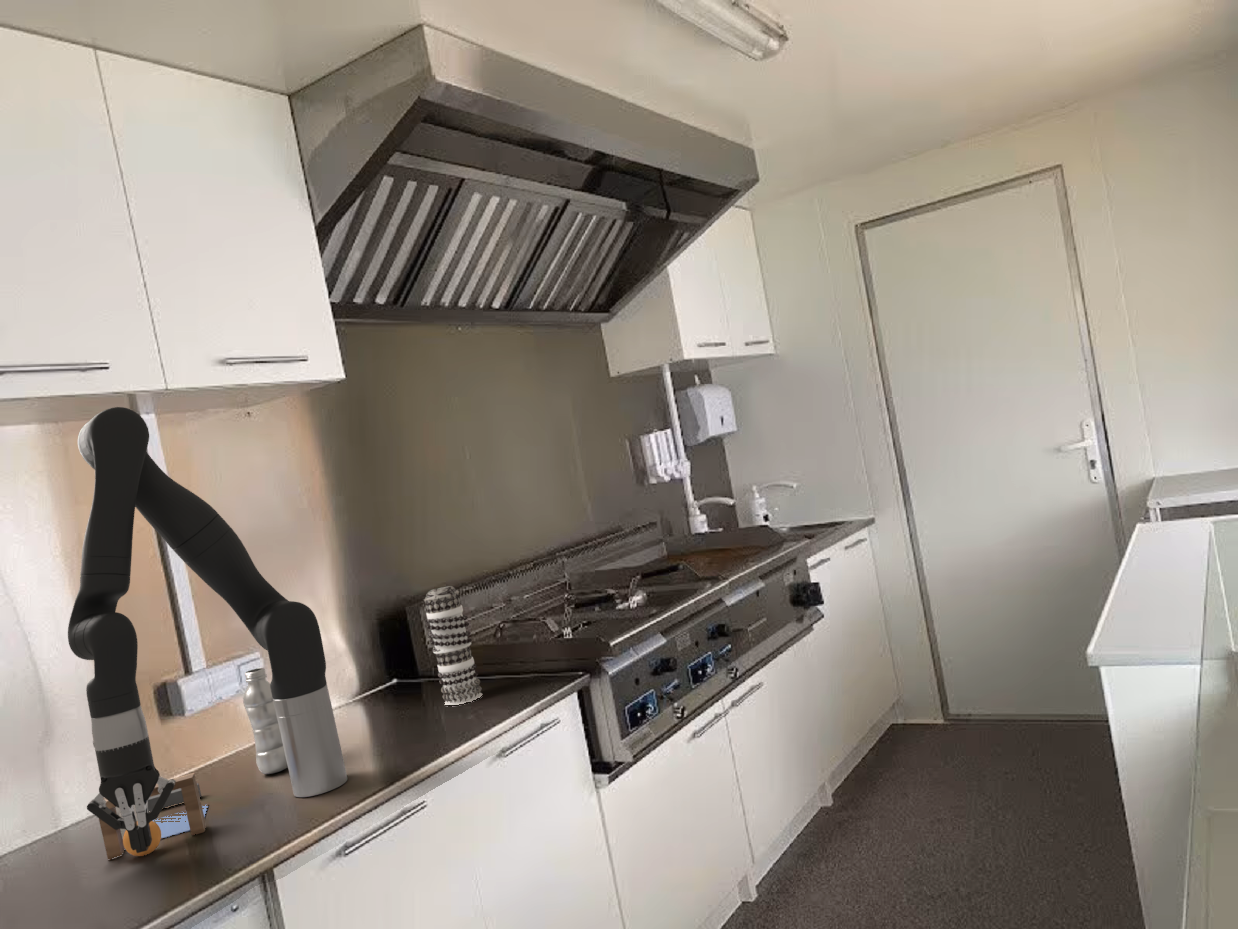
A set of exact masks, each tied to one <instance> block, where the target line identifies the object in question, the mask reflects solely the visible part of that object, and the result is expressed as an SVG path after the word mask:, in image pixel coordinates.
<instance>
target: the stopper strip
mask: <svg viewBox="0 0 1238 929" xmlns="http://www.w3.org/2000/svg"><path fill="white" fill-rule="evenodd" d="M199 783H200V782H197V787H198V791H199V796H200V797H201V798H202V792H201V787H200V784H199ZM160 795H161V794H158V795H155V796H151V797H150V798H149V799H148V800H147V802H148V812H149V811H151V810H153V808H154V806H155V804H156V802H157V800H158V799H159V797H160ZM182 802H184V800H183V795H182V791H181V788H180V789H176V790H173V791H171V793H170V795H169V797H168V799H167V801H166V803H165V804H164V806H163V808H165V807H168V806H171V805H174V804H179V803H182Z"/></svg>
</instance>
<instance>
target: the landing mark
mask: <svg viewBox="0 0 1238 929" xmlns="http://www.w3.org/2000/svg"><path fill="white" fill-rule="evenodd" d="M204 805H205V806H203V805H202V808H204V809H203V814H204V818H206V815H207V812H208V809H206V808H209V806H206V805H207V804H204ZM206 811H207V812H206ZM182 812H183V811H182ZM178 813H179V812H175V814H178ZM179 814H187V813H184V812H183V813H179ZM205 814H206V815H205ZM166 816H167V817H166ZM166 816H162V817H161V818H176V819H172V820H171V819H166V820H165V819H164V820H162V821H167V822H163V823H161V822H156V824H157V825H158V826H159V827H160V830H161V838H165V839H168V838H170V836H172V835H175V836H178V835H181V834H180V833H182V834H184V833H183V832H185V833H188V832H191V831H190V827H189V822H188V818H187V815H186V816H185V815H184V816H182V815H181V816H172V817H171V816H170V817H168V816H169V815H166ZM178 818H181V819H179V820H178ZM156 819H157V820H155V821H161V819H160V820H158V819H159V818H156ZM153 821H154V820H153ZM168 821H174V822H168ZM175 821H180V822H175ZM185 821H186V822H185ZM167 837H168V838H167ZM172 837H173V836H172Z"/></svg>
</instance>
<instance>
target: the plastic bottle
mask: <svg viewBox="0 0 1238 929" xmlns="http://www.w3.org/2000/svg"><path fill="white" fill-rule="evenodd" d="M244 675H245V683H248V684H247V688H246V690H244V693H243V694H244V695H243V697H242V699H243V700H242V702H243V703H242V704H243V706H244V709H245V712H246V714H247V716H248V720H249V723H250V726H251V728H252V733H253V739H254V746H255V759H256V760H255V762H256V766H257V767H258V768H257V769H258V771H260V772H261V774H263V775H270V774H278V773H280V772H283V771H284V770H286V769H288V765H287V761H286V756H285V752H284V747H283V743H282V738H281V733H280V729H279V724H278V720H277V715H276V711H275V707H274V702H273V698H272V693H271V688H270V683H271V682H269V681H268V680H267V679H266V678H267V677H268V675H267V674H266V670H265V667H257V668H253V669H250V670H248V671H247V670H246V671H245V672H244Z"/></svg>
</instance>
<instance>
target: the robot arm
mask: <svg viewBox="0 0 1238 929" xmlns="http://www.w3.org/2000/svg"><path fill="white" fill-rule="evenodd" d="M149 442H150V431H149V426H148V424H147V423H146V421H145V420H144V418H143V417H142V416H141V415H140V414H139V413H137V411H134V410H133V409H131V408H127V407H123V406H116V407H115V406H114V407H110V408H107V409H105V410H102V411H101V412H99V413H96V414H95V415H94V416H93V417H92V418H91V419H90V420H89V421H87V422H86V423H85V424H84V425H83V426H82V427H81V429H80V431H79V433H78V437H77V448H78V451H79V453H80V455H81V456H82V458H83V460H84V461H85V462H86V464H88V465H89V466H90V467H91V468H92V469H93V470H94V488H93V496H92V503H91V507H90V512H89V516H88V520H87V523H86V528H85V532H84V536H83V543H82V549H81V550H82V551H81V560H80V563H81V564H80V575H79V576H80V577H79V578H80V579H79V589H78V592H77V594H76V598H75V600H74V603H73V607H72V611H71V613H70V617H69V621H68V626H67V627H68V628H67V641H68V642H67V643H68V645H69V648H70V650H71V652H72V653H73V655H75V656H76V657H78V658H79V659H82V660H85V661H93V665H94V667H93V668H94V672H93V674H94V677H93V678H92V679H90V680H89V681H88V682H87V684H86V698H87V704H88V710H89V716H90V721H91V735H92V745H93V748H94V750H95V757H96V762H97V763H96V764H97V766H98V767H97V768H98V773H99V777H100V784H99V787H98V792H99V793H97V795H96V796H95V797H94V798H93V799H91V800H90V801H89V802H88V804H87V805H86V810H87V811H88V812H89V813H91V814H93V815H94V816H96V817H97V819H98V820H99V819H101V820H102V821H103V822H105V823H106V824H108V825H109V826H110V827H112V828H113V829H115V830H118V829H120V830H125V831H126V830H127V831H128V835H129V840H130V845H131V848H132V850H136V852H137V853H140V852H143V851H147V850H148V848H149V846H150V845H151V842H152V837H151V831H150V826H149V823H150V822H151V821H153V820H155V819H158V817H159V816H160V813H161V812H162V811H163V810H162V808H163V806H164V804H165V803H166V801H167V799H168V797H169V795H170V793H171V791H172V790H173V788H174V786H175V784H176V781H175V780H174V779H173V778H170V779H167V778H165V777H163V776H160V774H161V773H160V771H159V770H158V769H157V768H156V766H155V763H154V757H153V753H152V747H151V742H150V737H149V731H148V726H147V720H146V717H145V715H144V711H143V709H142V705H141V700H140V693H139V689H138V684H137V681H136V676H137V669H138V647H139V646H138V635H137V632H136V628H135V627H134V624H133V623H132V621H131V620H130V618H129V617H127V616H126V615H125V614H123V613H120V612H116V611H117V607H118V602H119V600H120V599H121V598H122V597H124V596H125V595H126V594H127V593H128V592H129V589H130V583H131V572H132V556H133V554H132V553H133V540H134V539H133V537H134V536H133V535H134V525H135V524H134V523H135V522H134V521H135V513H136V512H135V511H136V509H137V511H138V512H139V513H140V515H142V517H143V518H144V519H145V520H146V521H147V522H148V523H149V525H150V526H151V527H152V528H153V529H154V531H156V532H157V533H158V535H159V536H160V537H161V538H162V539H163V540H164V542H166V544H167V545H168V546H169V547H170V548H171V549H172V551H173V552H174V553H175V554H176V555H177V556H178V557H179V558H180V559H181V560H182V562H184V563H185V565H187V566H188V568H189V569H191V570H192V572H194V573H195V574H196V575H197V576H198V577H199V578H200V579H201V580H202V581H203V582H204V583H205V584H206V585H207V586H208V587H209V588H211V589H212V591H214V592H215V593H217V595H218V596H220V598H222V599H223V600H224V601H225V602H226V603H227V604H228V605H229V606H230V607H231V608H232V610H233V611H234V613H235V614H236V615H237V617H238V618H239V619H240V620H241V622H242V623H243V625H244V626H245V627H246V629H247V630H248V631H249V633H250V634H251V635H252V637H253V638H254V640H255V642H257V644H258V645H259V646H260V647H262V648H263V650H266V651H267V654H268V659H269V664H270V669H271V681H270V682H269V683H270V688H271V693H272V698H273V702H274V707H275V711H276V715H277V720H278V724H279V729H280V733H281V738H282V743H283V747H284V752H285V756H286V761H287V765H288V768H287V769H288V774H289V778H290V782H291V789H292V793H293V796H294V797H297V798H307V797H313V796H317V795H321V794H324V793H327V792H330V791H332V790H335V789H337V788H339V787H340V786H341V787H342V785H344V784H345V783H346V782H347V781H348V776H347V770H346V765H345V762H344V756H343V751H342V747H341V741H340V738H339V733H338V728H337V723H336V720H335V719H336V718H335V715H334V709H333V706H332V702H331V698H330V692H329V689H328V687H329V686H328V682H327V676H326V670H327V662H326V655H325V651H324V647H323V646H324V645H323V640H322V634H321V630H320V625H319V622H318V619H317V617H316V615H315V613H314V612H313V610H312V609H311V608H310V607H309V606H308V605H306V604H304V603H302V602H299V601H292V600H288V599H287V598H286V597H284V596H283V595H282V594H281V593H280V591H278V590H277V589H276V588H274V587H273V586H272V585H271V584H270V583H269V581H267V579H266V578H265V577H264V576H263V575H262V574H261V573H260V572H259V570H258V568H257V566H256V565H255V563H254V562H253V560H252V558H251V555H250V554H249V552H248V550H247V548H246V547H245V545H244V544H243V541H242V540H241V538H240V537H239V535H238V534H237V533H236V532H235V530H234V528H232V526H230V525H229V524H228V523H227V521H226V520H225V519H224V518H223V517H222V516H221V515H220V514H219V513H218V512H217V510H216V509H215V508H214V507H212V506H211V505H210V504H209V503H208V502H207V501H205V500H204V499H203V498H201V497H199V496H198V495H197V494H195V493H194V492H193V491H191V490H190V489H188V488H186V487H184V486H183V485H182V484H180V483H179V482H177V481H175V480H174V479H172V478H171V476H168V475H167V473H165V472H164V471H163V470H162V469H161V468H160V466H159V465H158V464H157V462H156V461H154V459H153V458H152V457H151V455H149V453H148V452H147V450H148V446H149ZM156 784H158V786H159V787H158V792H159V793H161V795H160V797H159V799H158V800H157V802H156V804H155V806H154V808H153V810H151V811H150V812H148V802H147V800H148V799H149V798H150V796H151V794H152V792H153V790H154V788H155V786H156ZM104 798H106V799H107V800H108V801H109V802H111V803H112V804H113V805H114V806H116V807H115V808H118V809H119V812H120V813H121V816H120V815H119V814H118V813H117V814H116V813H115V812H113V811H112V810H111V809H109V808H108V807H106V805H107V802H106V801H105V799H104ZM137 822H138V825H137Z"/></svg>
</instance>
